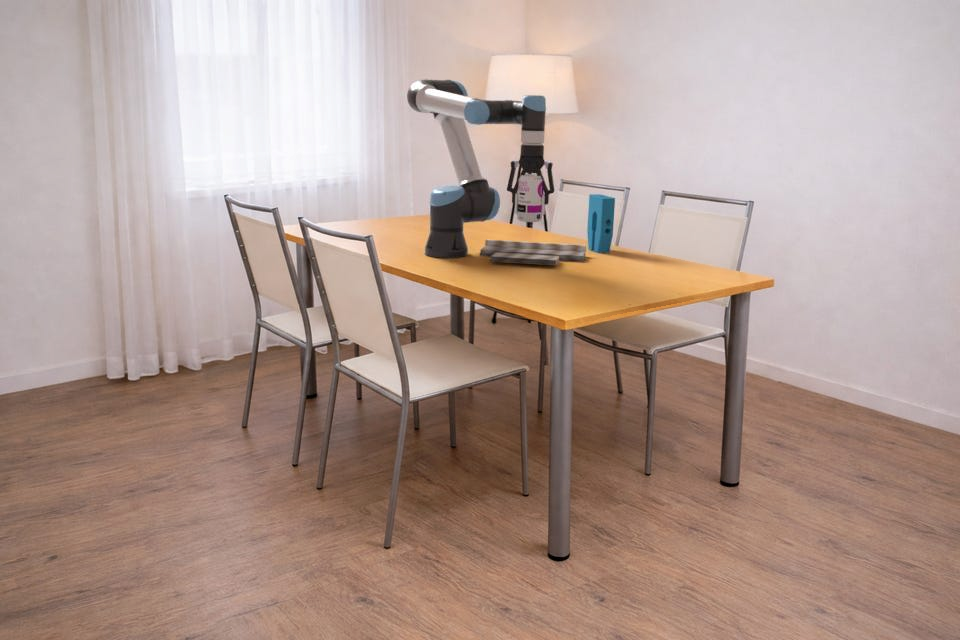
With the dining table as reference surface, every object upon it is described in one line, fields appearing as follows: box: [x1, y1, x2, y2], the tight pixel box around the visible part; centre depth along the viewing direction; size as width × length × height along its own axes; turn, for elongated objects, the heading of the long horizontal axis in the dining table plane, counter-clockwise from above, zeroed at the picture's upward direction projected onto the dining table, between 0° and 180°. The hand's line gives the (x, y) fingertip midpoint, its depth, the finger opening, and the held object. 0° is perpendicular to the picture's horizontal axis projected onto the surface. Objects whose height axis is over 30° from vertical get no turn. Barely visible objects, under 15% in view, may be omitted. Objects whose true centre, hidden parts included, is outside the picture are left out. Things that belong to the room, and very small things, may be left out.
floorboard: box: [479, 239, 587, 263], centre depth 303 cm, size 36×11×4 cm, turn 79°
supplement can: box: [516, 173, 544, 223], centre depth 285 cm, size 8×8×15 cm
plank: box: [489, 253, 560, 266], centre depth 291 cm, size 22×12×2 cm, turn 79°
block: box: [586, 193, 616, 254], centre depth 315 cm, size 12×5×20 cm, turn 20°
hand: (529, 213), depth 287 cm, fingers closed on supplement can, 8 cm apart
